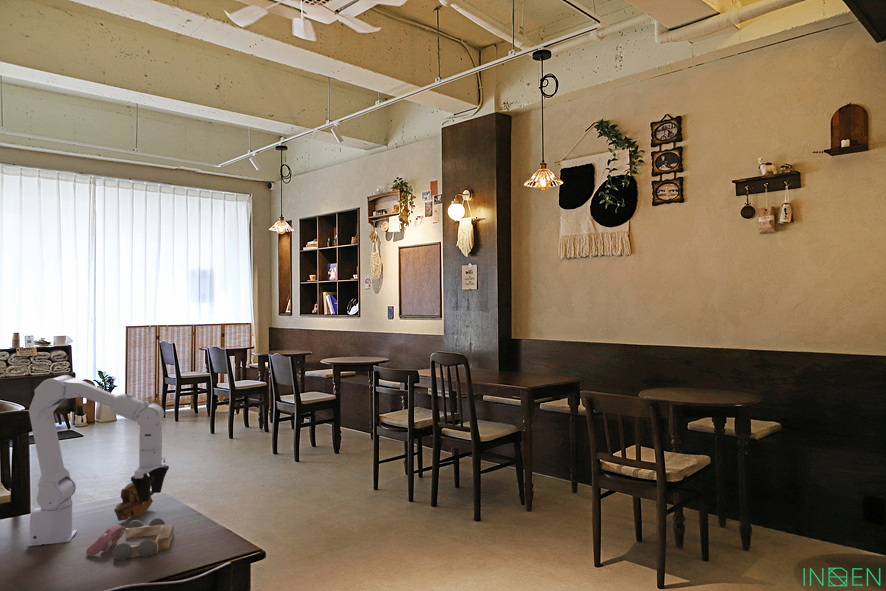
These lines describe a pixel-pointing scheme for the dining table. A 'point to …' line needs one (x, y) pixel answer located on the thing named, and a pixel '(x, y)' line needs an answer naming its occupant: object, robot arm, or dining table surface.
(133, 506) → the wooden carving
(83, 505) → the dining table surface
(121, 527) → the pink toy figure
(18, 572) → the dining table surface
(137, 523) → the chassis
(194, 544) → the dining table surface
